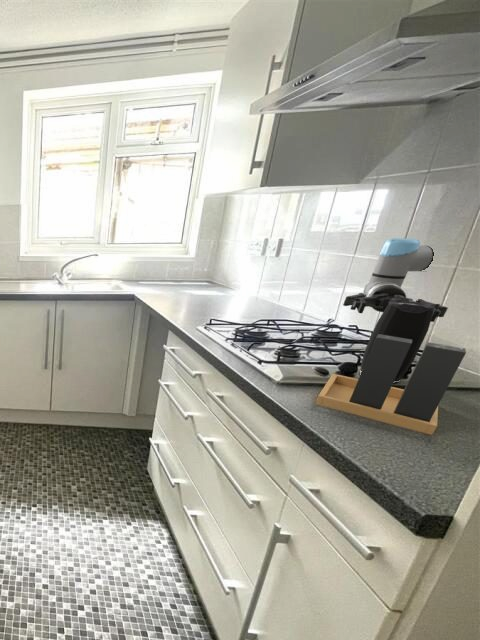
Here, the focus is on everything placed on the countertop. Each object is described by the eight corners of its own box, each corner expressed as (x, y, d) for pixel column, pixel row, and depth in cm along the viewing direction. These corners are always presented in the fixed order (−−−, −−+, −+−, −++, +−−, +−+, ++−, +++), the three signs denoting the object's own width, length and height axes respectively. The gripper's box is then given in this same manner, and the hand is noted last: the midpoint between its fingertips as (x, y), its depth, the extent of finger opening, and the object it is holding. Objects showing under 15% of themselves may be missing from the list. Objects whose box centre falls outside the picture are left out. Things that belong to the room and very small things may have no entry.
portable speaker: (388, 387, 101) (424, 308, 93) (346, 372, 109) (376, 298, 101) (412, 383, 103) (449, 305, 95) (369, 369, 111) (401, 296, 103)
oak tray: (432, 408, 91) (438, 397, 90) (430, 438, 79) (437, 426, 78) (328, 383, 103) (333, 373, 101) (314, 406, 91) (318, 395, 90)
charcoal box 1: (378, 412, 87) (412, 339, 81) (377, 417, 85) (411, 343, 79) (348, 404, 91) (378, 333, 84) (345, 408, 89) (376, 337, 82)
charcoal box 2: (425, 424, 83) (465, 348, 76) (425, 429, 81) (466, 352, 74) (391, 415, 86) (427, 342, 80) (390, 420, 84) (426, 345, 78)
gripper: (439, 316, 117) (459, 335, 102) (327, 303, 131) (330, 318, 115) (452, 290, 114) (475, 305, 99) (336, 279, 128) (340, 291, 112)
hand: (397, 312), depth 107 cm, fingers open, 13 cm apart
